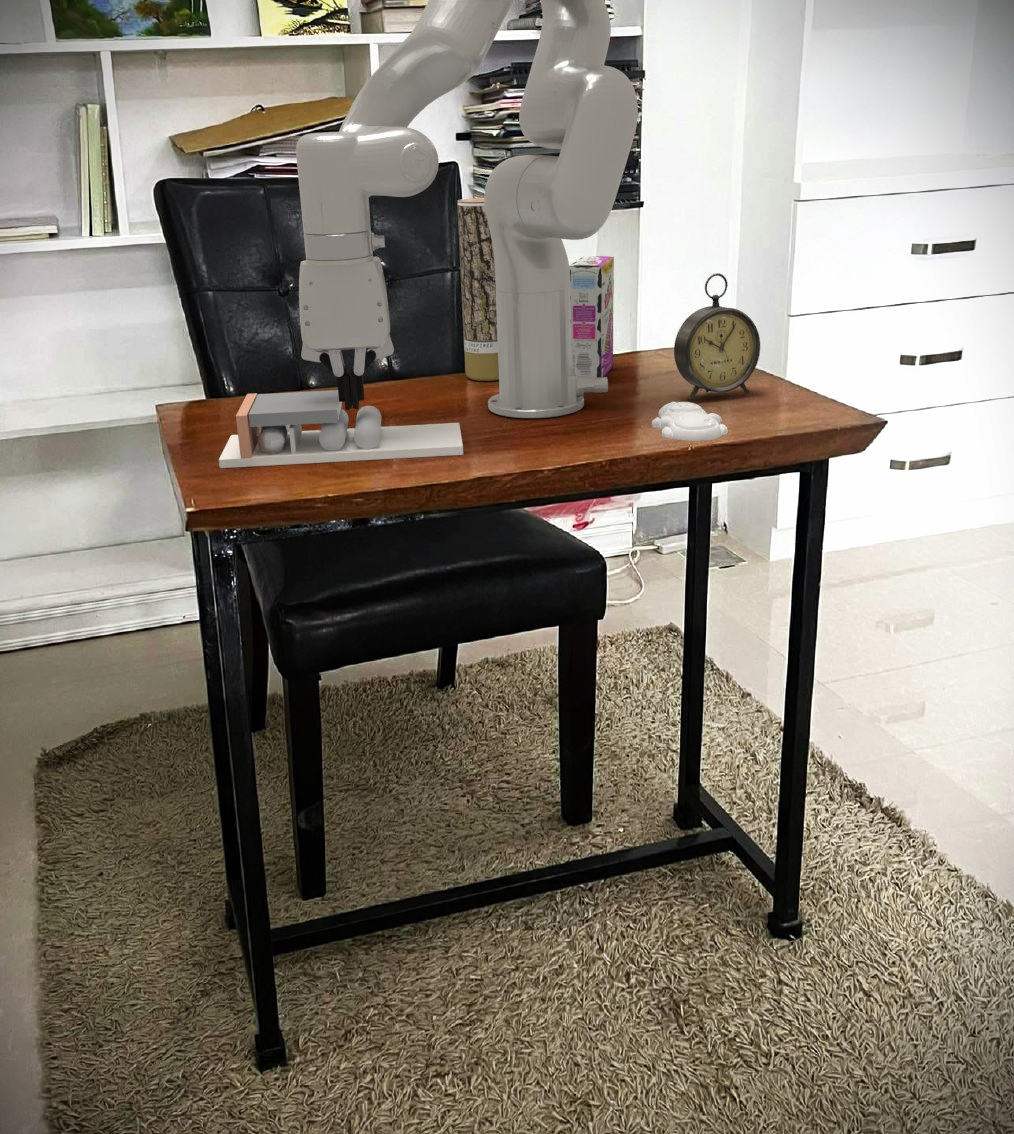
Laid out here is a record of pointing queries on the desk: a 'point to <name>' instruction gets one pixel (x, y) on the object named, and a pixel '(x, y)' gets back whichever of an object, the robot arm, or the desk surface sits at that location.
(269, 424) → the slab
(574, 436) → the desk surface
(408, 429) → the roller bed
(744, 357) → the alarm clock
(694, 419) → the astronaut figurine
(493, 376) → the paper tube
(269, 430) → the roller
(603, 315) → the candy bar box
